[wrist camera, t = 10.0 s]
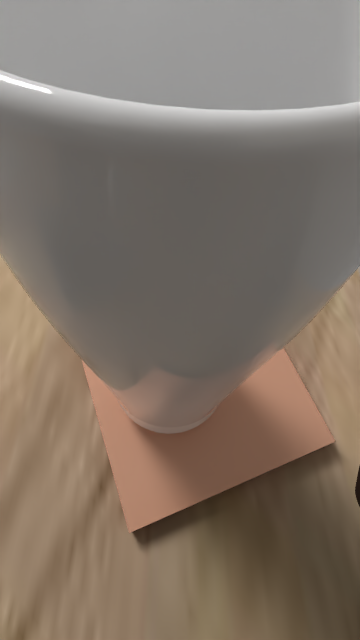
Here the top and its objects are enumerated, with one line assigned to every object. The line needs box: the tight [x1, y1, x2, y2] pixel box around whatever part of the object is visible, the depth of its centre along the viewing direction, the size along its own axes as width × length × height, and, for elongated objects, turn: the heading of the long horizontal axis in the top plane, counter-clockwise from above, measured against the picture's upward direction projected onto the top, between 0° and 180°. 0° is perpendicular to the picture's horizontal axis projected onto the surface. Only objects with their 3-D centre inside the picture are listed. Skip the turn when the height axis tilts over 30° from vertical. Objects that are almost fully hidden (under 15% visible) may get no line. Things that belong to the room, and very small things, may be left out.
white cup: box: [0, 0, 360, 434], centre depth 10 cm, size 7×7×15 cm
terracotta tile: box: [82, 348, 336, 533], centre depth 18 cm, size 12×10×1 cm
